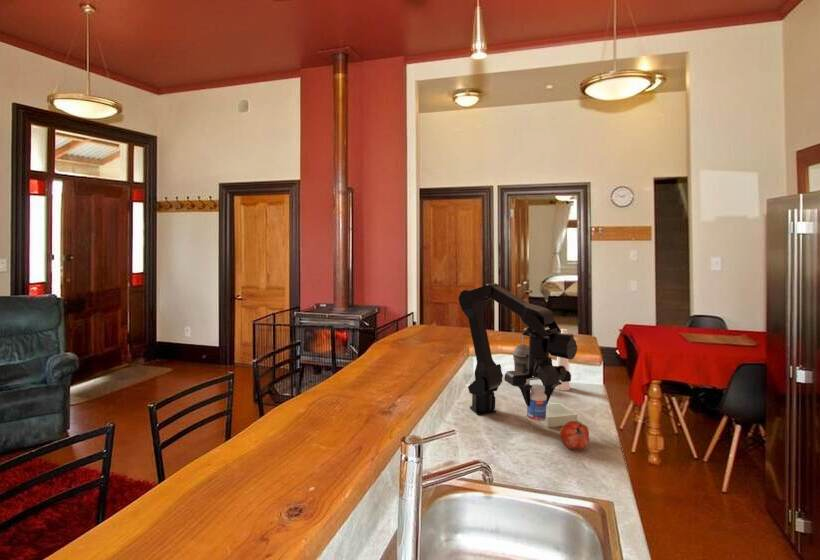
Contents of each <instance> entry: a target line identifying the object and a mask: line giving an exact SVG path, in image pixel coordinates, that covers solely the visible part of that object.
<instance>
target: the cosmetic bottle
mask: <svg viewBox="0 0 820 560" xmlns="http://www.w3.org/2000/svg"><path fill="white" fill-rule="evenodd" d="M560 330H561V333H564V334H569V332H568V329H566V328H560ZM569 361H570V359H566V358H561V357H556V364H555V366H564V367H565V368H566V370H567V371H569V367H570V366H569V365H570V363H569ZM569 372H570V371H569ZM559 382H561V383H562V384H561V385H558V386H557V387H555V389H554V390H557V391H569V390H571V384H570V381H569V382H562V381H561V380H559Z"/></svg>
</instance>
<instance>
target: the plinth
mask: <svg viewBox="0 0 820 560" xmlns="http://www.w3.org/2000/svg"><path fill="white" fill-rule="evenodd" d="M570 421H576V422H578V413H576V412H574V411H573V410H571V409H569V408H568V407H566V406H564V405H563V404H562V403H560V402H556V403H555V402H554V403H548V404H547V405H546V419H545V421H542V422H540V423H541V424H542V425H544V426H545V427H546V428H553V427H563V426H564V425H565V424H566V423H567V422H570Z"/></svg>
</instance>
